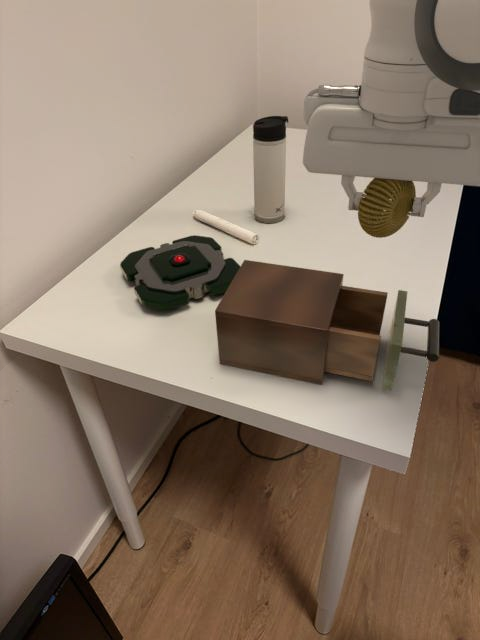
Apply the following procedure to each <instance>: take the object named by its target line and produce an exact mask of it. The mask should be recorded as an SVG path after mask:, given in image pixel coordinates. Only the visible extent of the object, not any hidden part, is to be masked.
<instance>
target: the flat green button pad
mask: <svg viewBox="0 0 480 640" xmlns="http://www.w3.org/2000/svg"><path fill="white" fill-rule="evenodd" d="M119 266H120V270H121V273H122V274H123V276H124V277H125V280H126V281H127V282H130V283H131V282H134V283H135V286H134V287H133V291H134V294H135V296H136V298H137V299H138V301H139V302H140V304H141V306H142V307H143V308H148V309H152V310H153V309H154V310H159V311H169V310H172V309H175V308H178V307H180V306H184V305H187V304H190V302H191V299H192V298H193V299H194V300H198V299H201V298H204V296H205V294H206V293H209V294H210V295H211V296H216V295H219V294H222V293H226V291H227V289H228V287H229V286H230V284H231V282H232V281H233V279H234V277H235V275H236V274H237V272H238V270H239V268H240V267H241V265H240V264H239V263H238V262H237V261H236V260H235V259H234V258H233V257H228V258H225V256H224V252H223V250H222V246H221V245H220V244H219V243H218V242H217V241H216V240H215V239H214V238H213V237H211V236H203V235H197V234H196V235H189V236H185V237H182V238H178V239H174V240H172V242H171V243H169V242H165V243H162V244H160V246H159V247H156V248H155V247H154V246H149V247H146V248H142V249H138V250H134V251H132V252H130V253H128V254H127V255H126V256H125V257H124V258H123V260H122V261H121V262H120V265H119Z"/></svg>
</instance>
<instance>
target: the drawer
mask: <svg viewBox="0 0 480 640" xmlns="http://www.w3.org/2000/svg"><path fill="white" fill-rule="evenodd" d="M388 294H389V293H388V291H387V292H386V291H380V290H373V289H367V288H360V287H354V286H348V285H347V286H346V285H342V286H341V288H340V292H339V295H338V299H337V302H336V306H335V309H334V313H333V316H332V320H331V323H330V327H329V331H328V339H327V349H326V359H325V369H324V372H325V373H328V374H335V375H339V376H345V377H349V378H353V379H354V378H355V379H358V380H359V379H360V380H364V381H370V382H373V380H374V377H375V376H374V375H375V371H376V365H377V360H378V356H379V355H378V354H379V350H380V345H381V341H382V335H381V330H382V325H383V320H384V315H385V310H386V304H387V300H388ZM407 300H408V291H407V290H402V289H398V291H397V294H396V300H395V304H394V309H393V313H392V319H391V324H390V328H389V332H388V333H389V334H388V341H387V349H386V355H385V363H384V370H383V379H382V384H381V389H382V390H387V391H392V390H393V385H394V381H395V376H396V372H397V370H398V369H397V368H398V364H399V360H400V356H401V354H406V355H413V356H416V357H417V356H418V357H422V358H423V357H424V358H426V360H427V361H428V362H431V363H435V362H437V361H439V360H440V321H439V320H438V319H437V318H431V319H429V320H423V319H416V318H412V317H411V318H410V317H406V311H407V310H406V309H407ZM405 324H407V325H412V326H418V327H424V328H427V339H426V340H427V341H426V350H423V349H418V348H413V347H408V346H407V347H406V346H403V338H404V328H405Z"/></svg>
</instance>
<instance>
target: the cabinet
mask: <svg viewBox="0 0 480 640" xmlns="http://www.w3.org/2000/svg"><path fill="white" fill-rule="evenodd" d="M240 266H241V267H240V268H239V270H238V272H237V274H236V275H235V277H234V279H233V281H232V282H231V284H230V286H229V287H228V289H227V291H225V292H224V295H223V296H222V297H221V300H220V301H219V302H218V305H217V306H216V308H215V310H214V316H215V327H216V336H217V337H216V339H217V350H218V361H219V364H220V365H224V366H228V367H229V366H230V367H234V368H239V369H243V370H249V371H252V372H259V373H264V374H267V375H272V376H277V377H282V378H287V379H292V380H297V381H302V382H307V383H312V384H317V385H323V383H324V379H325V375H326V372H324V369H325V359H326V349H327V339H328V331H329V327H330V323H331V320H332V316H333V313H334V309H335V306H336V302H337V299H338V295H339V292H340V288H341V286H344V284H343V283H344V277H345V275H344V273H339V272H333V271H332V272H331V271H325V270H318V269H311V268H304V267H297V266H290V265H285V264H277V263H269V262H262V261H257V260H249V259H244V260H243V261H242V263H241V265H240Z"/></svg>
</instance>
